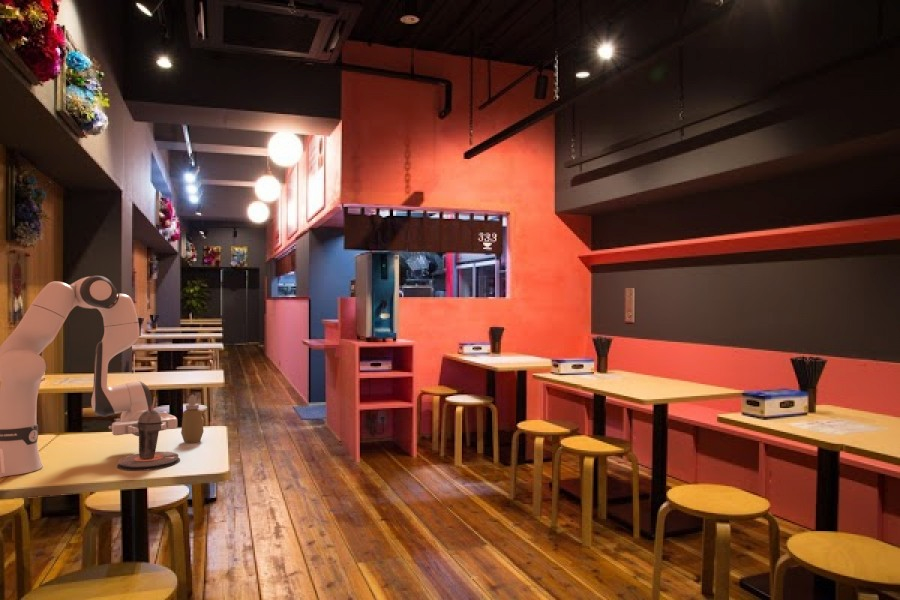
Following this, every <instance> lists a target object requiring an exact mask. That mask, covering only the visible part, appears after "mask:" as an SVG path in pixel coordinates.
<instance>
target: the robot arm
mask: <svg viewBox="0 0 900 600" xmlns="http://www.w3.org/2000/svg"><path fill="white" fill-rule="evenodd" d="M74 308H78V309H97V310H98V311H99V312H100V314H101V317H102V318H103V319H102V321H103V329H104V333H103V336H102V339H101V340H100V341H99V342H98V343H97V344H96V347H95V353H94V365H93V368H94V369H93V388H92V389H93V390H92V396H91V401H90V402H91V403H90V404H91V408H92V411H93V413H95V414H96V415H98V416H100V417H104V418H105V417H108V416H112V415H115V414H119V413H121V414H120V420H118V421H113V422H112V423H111V425H109V426H108V429H109V430H111V431H112V432H111V434H112V436H123V435H133V436H136V437H139V428H138V420H139V417H140V416H141V414H142V413H144V412H145V411H148V410H151V409H152V405H153V398H152V393H151V390H150V388H149V386H147V385H146V384H145V383H144V382H143V381H140V380H138V381H132V382H126V383H123V384H118V385H112V386H110V385H109V386H108V374H109V373H108V370H109V368H108V367H109V363H110V361H111V360H112V359H113V358H114V357H115V356H116V355H118V354H120V353H122V352H124V351H126V350H128V349H129V348H131V347H132V346H134V345H135V344H136V343H137V342H138V340H139V338H140V323H139V317H138V314H137V310H136V309H137V308H136V306H135V303H134V300H133V299H132V297H131V296H130V295H127V294H126V293H120V292H119V291H118V289H117V287H115V285H114V283H113V282H112V281H111V280H110V279H108V278H107V277H105V276H102V275H92V276H85V277H81V278H80V279H77V280H75V281H73V282H72V283H69V284H68V283H66V282H63V281H58V280H57V281H56V280H55V281H51V282H48V283H47V284H46V285H45V286H44V287H43V288H42V289H41V290H40V291H39V293H38V294H37V295H36V297H35V298H34V299H33V301H32V302H31V304H30V306H29V307H28V309H27V310H26V312H25V313H24V315H23V317H22V318H21V320H20V321H19V323H18V324H17V326H16V328H15V329H14V330H13V331H12V332H11V333H10V334H9V335H8V337H7V338H6V339H5V340H4V341H3V343H2V344H1V345H0V478H2V477H8V476H9V477H10V476H17V475H22V474H27V473H31V472H35V471H39V470H40V469H42V468H43V463H42V461H41V457H40V453H39V447H38V438H39V425H38V424H37V414H38V413H37V410H38V409H37V407H38V406H37V405H38V402H37V401H38V395H39V391H40V386H41V382H42V378H43V376H44V375H45V372H46V370H47V369H46V368H47V365H46V364H47V363H46V361H45V359H44V358H43V357H42V356H41V353H42V352H43V351H44V350H45V349H46V348H47V347H48V346H49V345H50V344H51V343H52V342H53V341H54V340H55V338H57V335H58V333H59V332H60V330H61V328H63V327H62V326H63V325H64V324H65V321H66V320H67V318H68V316H69V315H70V313H71V312H72V310H73V309H74ZM155 411H156V412H157V413H158V414H159V415H160V417H161V426H160V429H159V432H162V431H167V430H174V429H177V428H178V418H177V417H176V416H175V415H172V414H169V413H168V411H163V410H161V411H157V410H155Z"/></svg>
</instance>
